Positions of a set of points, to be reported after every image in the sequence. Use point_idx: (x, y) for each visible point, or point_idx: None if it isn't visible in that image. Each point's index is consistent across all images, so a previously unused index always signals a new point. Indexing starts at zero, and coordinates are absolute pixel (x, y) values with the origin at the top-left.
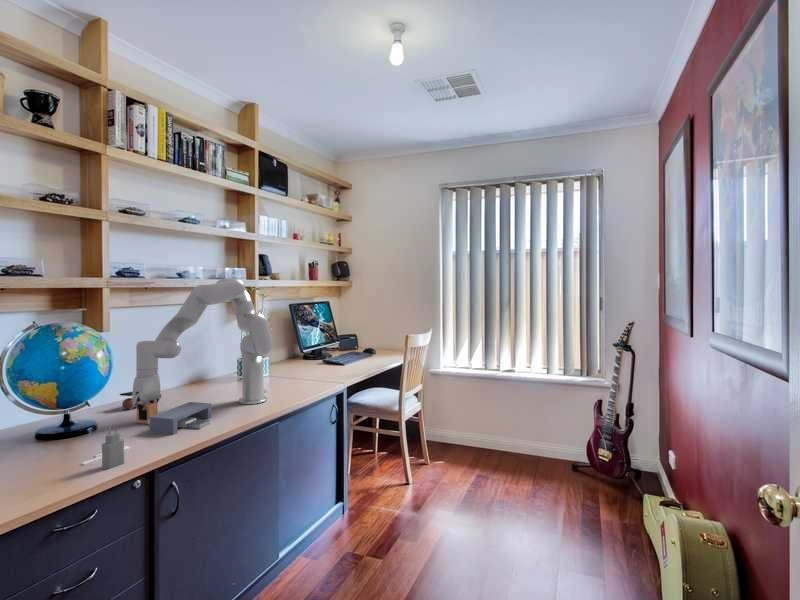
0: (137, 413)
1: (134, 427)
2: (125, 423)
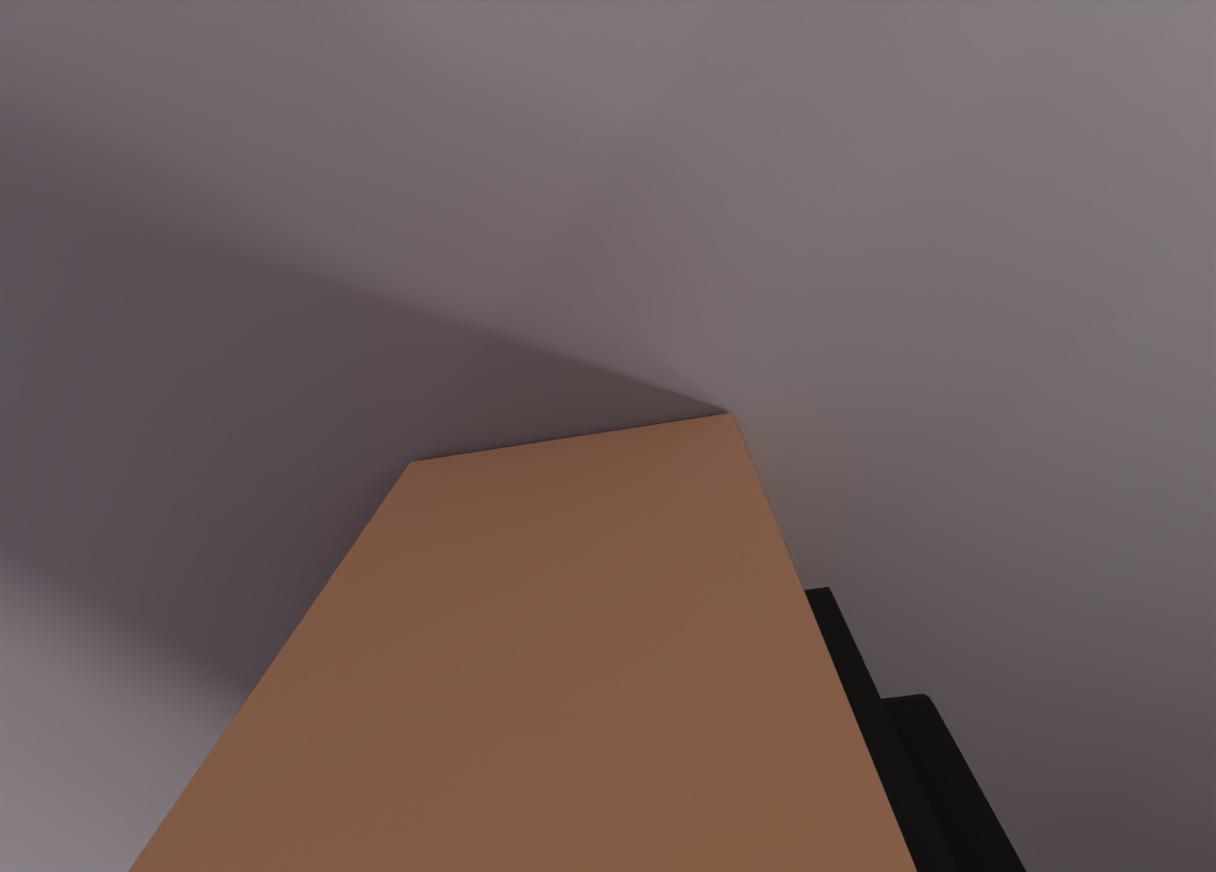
0: (318, 643)
1: (123, 762)
2: (167, 213)
